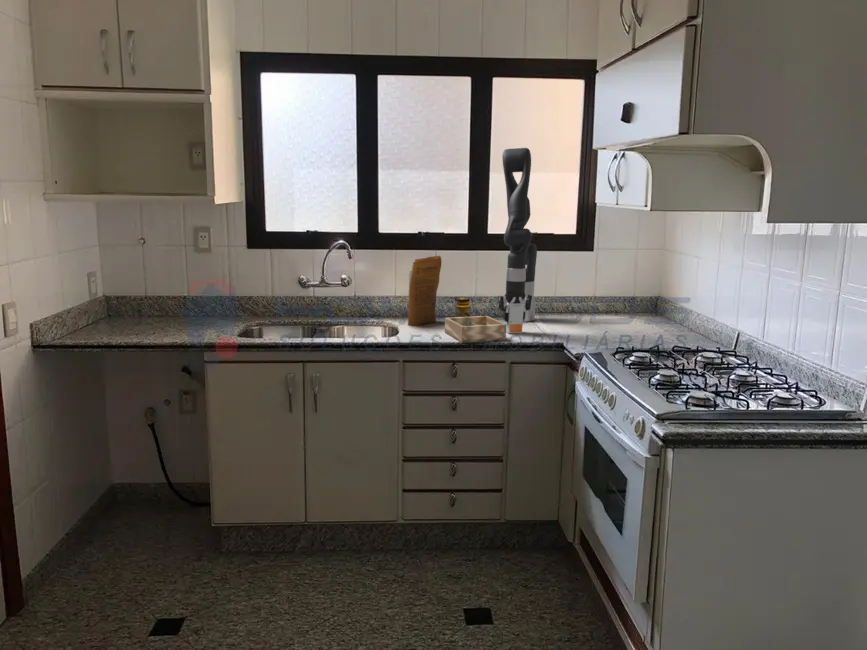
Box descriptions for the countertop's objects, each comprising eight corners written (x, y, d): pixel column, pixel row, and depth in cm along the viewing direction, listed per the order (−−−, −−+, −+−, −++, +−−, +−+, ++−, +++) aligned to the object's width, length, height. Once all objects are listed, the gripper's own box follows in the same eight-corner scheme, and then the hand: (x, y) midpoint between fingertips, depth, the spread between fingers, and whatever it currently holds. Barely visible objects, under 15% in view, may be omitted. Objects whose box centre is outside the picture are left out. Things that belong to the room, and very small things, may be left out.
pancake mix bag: (445, 321, 307) (446, 255, 302) (412, 327, 294) (413, 258, 288) (434, 319, 312) (435, 254, 306) (401, 325, 298) (402, 257, 293)
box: (486, 330, 291) (487, 315, 290) (505, 340, 274) (506, 324, 273) (444, 332, 285) (445, 317, 284) (461, 342, 268) (462, 326, 267)
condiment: (473, 328, 295) (474, 299, 293) (455, 329, 292) (455, 300, 289) (464, 324, 302) (465, 296, 299) (446, 326, 298) (447, 297, 296)
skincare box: (508, 333, 286) (509, 304, 283) (504, 331, 290) (505, 302, 287) (522, 333, 287) (524, 303, 285) (518, 331, 291) (519, 301, 289)
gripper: (528, 277, 290) (526, 318, 293) (495, 278, 285) (493, 320, 289) (536, 280, 283) (534, 322, 286) (503, 281, 278) (501, 323, 282)
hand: (514, 321), depth 287 cm, fingers open, 6 cm apart
